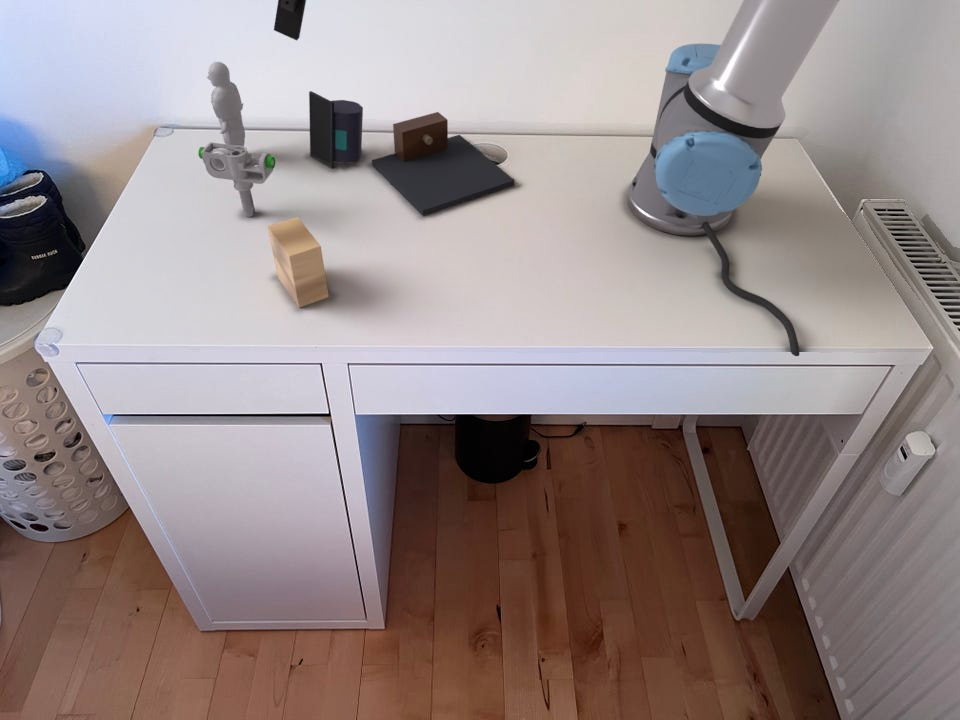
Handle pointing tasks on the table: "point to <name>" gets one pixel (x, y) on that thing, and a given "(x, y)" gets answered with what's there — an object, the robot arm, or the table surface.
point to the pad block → (298, 261)
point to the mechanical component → (237, 169)
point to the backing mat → (443, 176)
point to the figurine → (227, 104)
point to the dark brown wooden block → (420, 136)
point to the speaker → (335, 130)
